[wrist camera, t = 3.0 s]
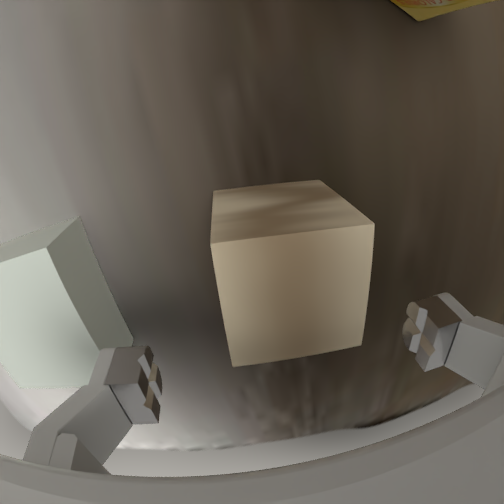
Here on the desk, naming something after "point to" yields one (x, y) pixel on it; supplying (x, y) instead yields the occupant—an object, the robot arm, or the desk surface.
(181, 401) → the desk surface
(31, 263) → the base block
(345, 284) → the maple block
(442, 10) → the candy box
